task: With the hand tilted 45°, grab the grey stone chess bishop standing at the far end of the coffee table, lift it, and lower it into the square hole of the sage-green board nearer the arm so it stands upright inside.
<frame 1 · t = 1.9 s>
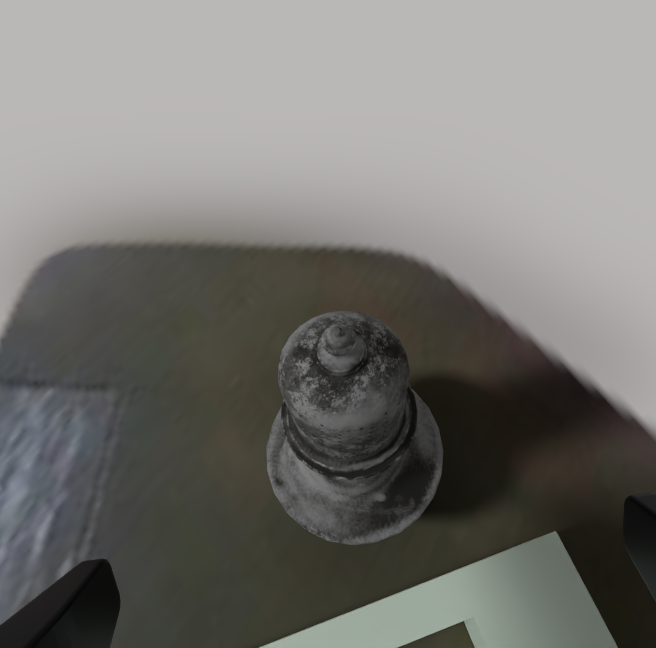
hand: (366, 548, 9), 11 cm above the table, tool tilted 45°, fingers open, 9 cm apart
grey stone chess bishop: (356, 473, 20), on the table
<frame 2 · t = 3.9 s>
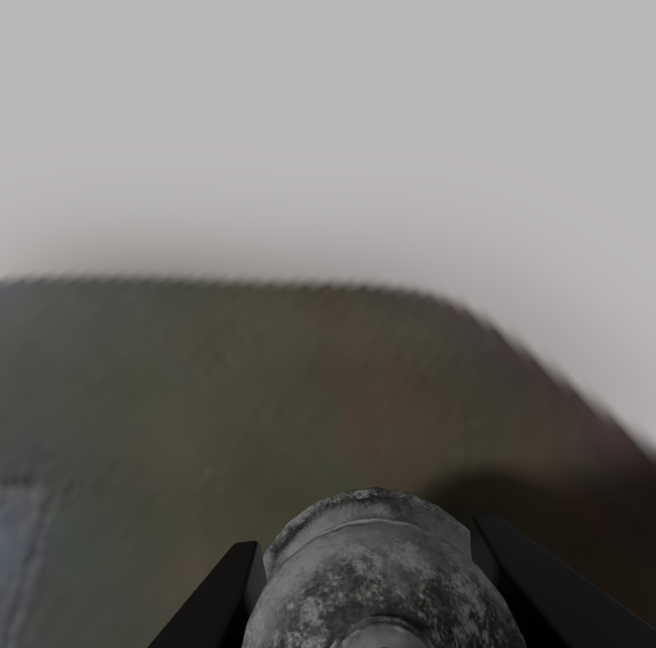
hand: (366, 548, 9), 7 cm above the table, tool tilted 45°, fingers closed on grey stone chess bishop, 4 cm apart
grey stone chess bishop: (375, 621, 14), on the table, touching gripper
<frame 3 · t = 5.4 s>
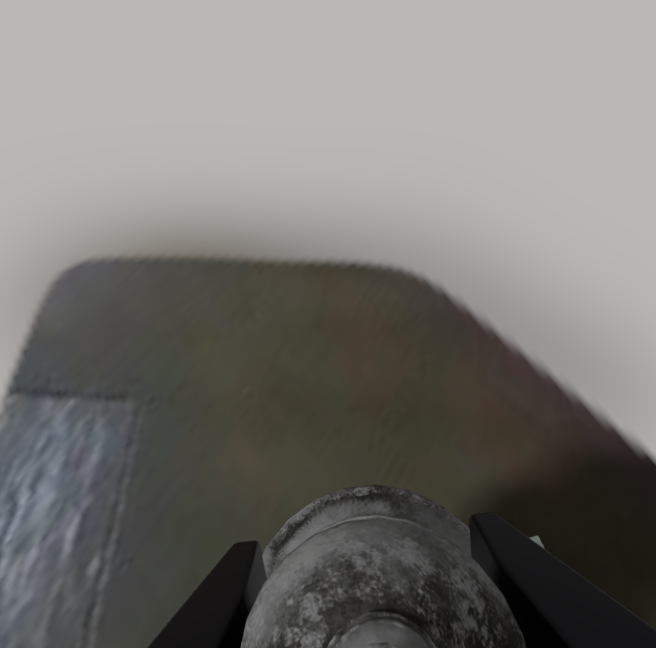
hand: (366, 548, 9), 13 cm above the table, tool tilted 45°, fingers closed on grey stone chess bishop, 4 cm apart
grey stone chess bishop: (375, 618, 14), point 6 cm above the table, touching gripper
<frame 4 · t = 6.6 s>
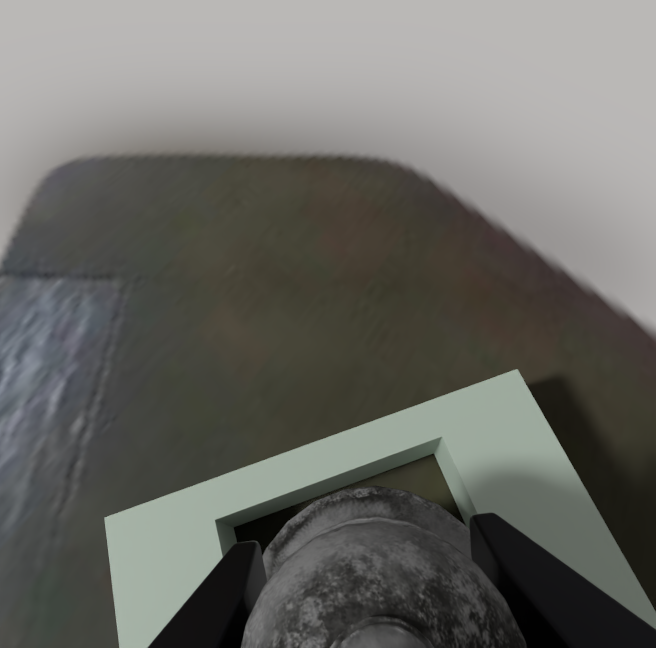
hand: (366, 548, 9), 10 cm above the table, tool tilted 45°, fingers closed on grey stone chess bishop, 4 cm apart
grey stone chess bishop: (375, 619, 14), point 3 cm above the table, touching gripper
when the fingers open (8 cm above the table, at t = 7.4 s): grey stone chess bishop drops 1 cm, resting in socket board.
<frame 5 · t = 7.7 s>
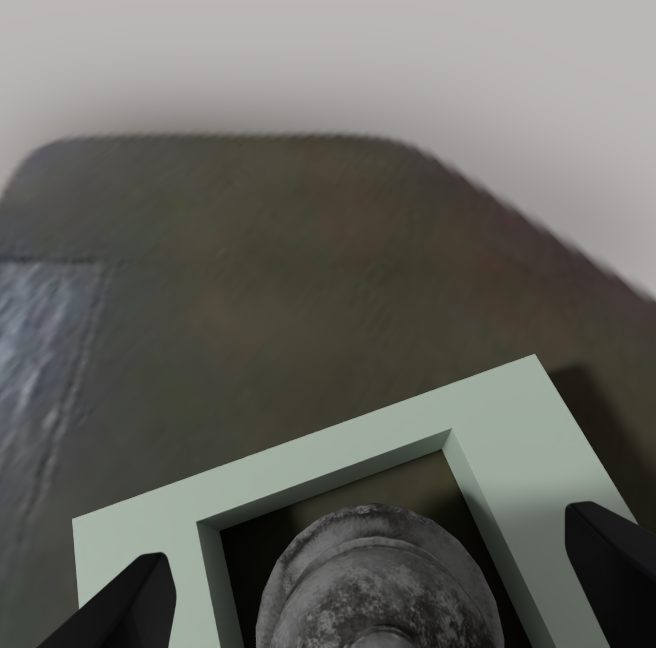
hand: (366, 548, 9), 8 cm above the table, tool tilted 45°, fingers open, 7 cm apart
grey stone chess bishop: (376, 624, 15), resting in socket board
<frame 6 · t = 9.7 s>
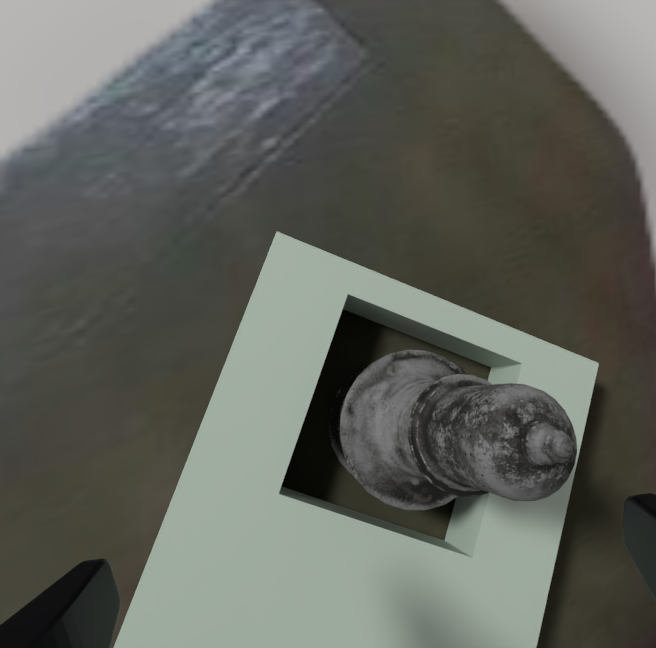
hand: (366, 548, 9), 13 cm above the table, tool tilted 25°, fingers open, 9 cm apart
socket board: (369, 482, 21), on the table
grey stone chess bishop: (385, 424, 22), resting in socket board
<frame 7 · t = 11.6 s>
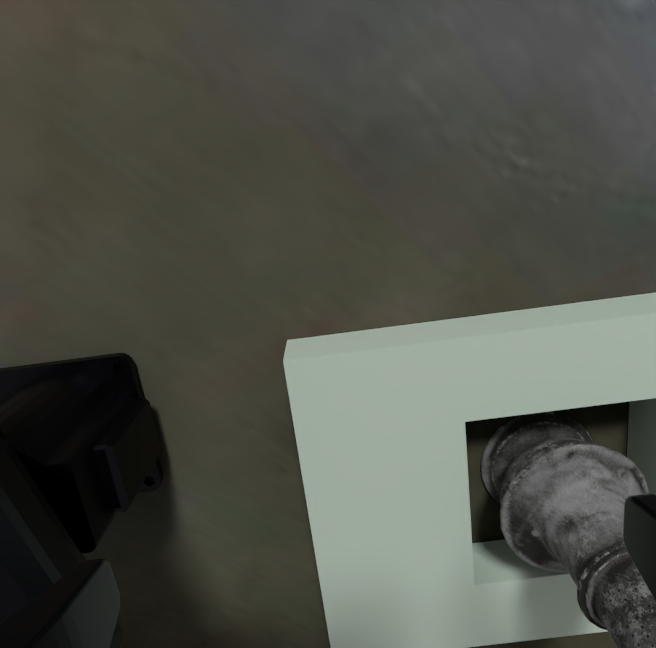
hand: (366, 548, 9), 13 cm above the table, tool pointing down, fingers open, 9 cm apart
socket board: (482, 470, 23), on the table
grey stone chess bishop: (535, 459, 23), resting in socket board
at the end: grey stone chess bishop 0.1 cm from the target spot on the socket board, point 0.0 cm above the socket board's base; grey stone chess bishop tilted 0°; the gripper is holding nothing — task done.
